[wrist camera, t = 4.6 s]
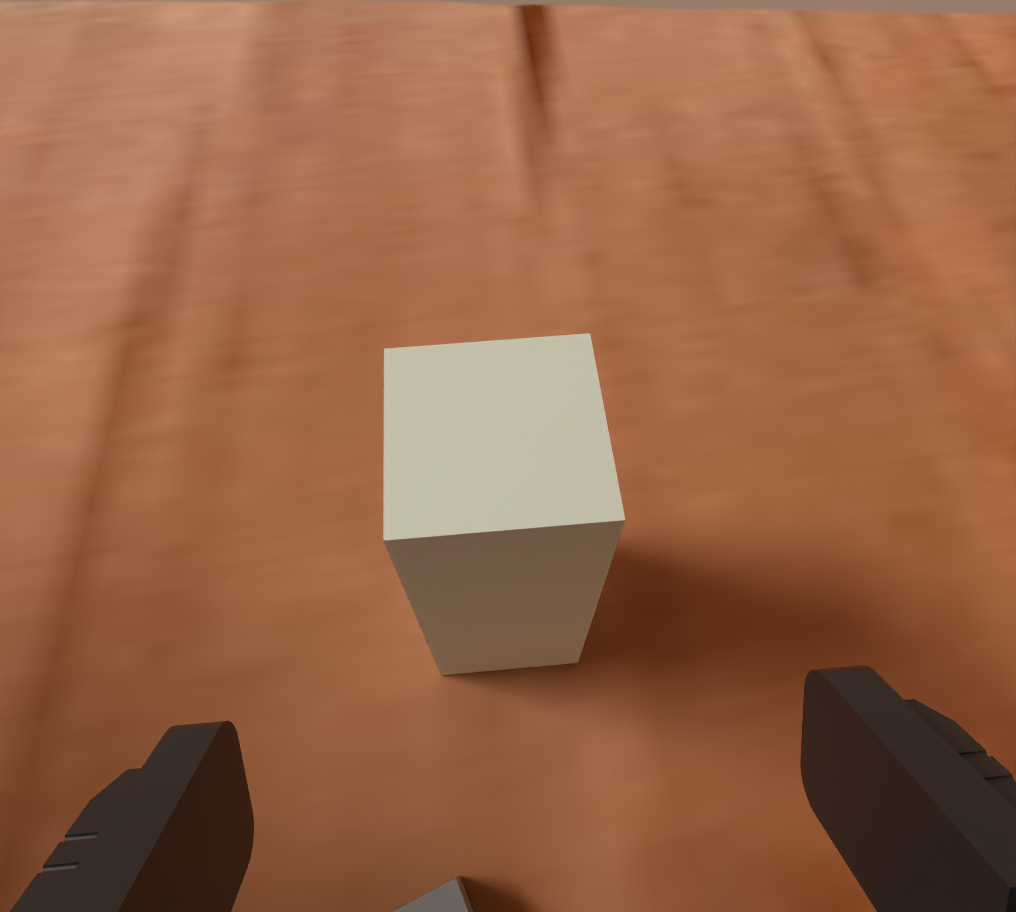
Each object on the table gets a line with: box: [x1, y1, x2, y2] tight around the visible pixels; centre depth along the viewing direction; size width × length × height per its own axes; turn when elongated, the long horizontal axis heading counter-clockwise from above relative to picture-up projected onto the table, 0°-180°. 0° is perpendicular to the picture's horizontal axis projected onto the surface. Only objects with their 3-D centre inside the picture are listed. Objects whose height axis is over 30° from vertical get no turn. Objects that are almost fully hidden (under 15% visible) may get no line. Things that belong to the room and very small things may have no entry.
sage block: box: [384, 333, 625, 675], centre depth 17 cm, size 4×4×10 cm
